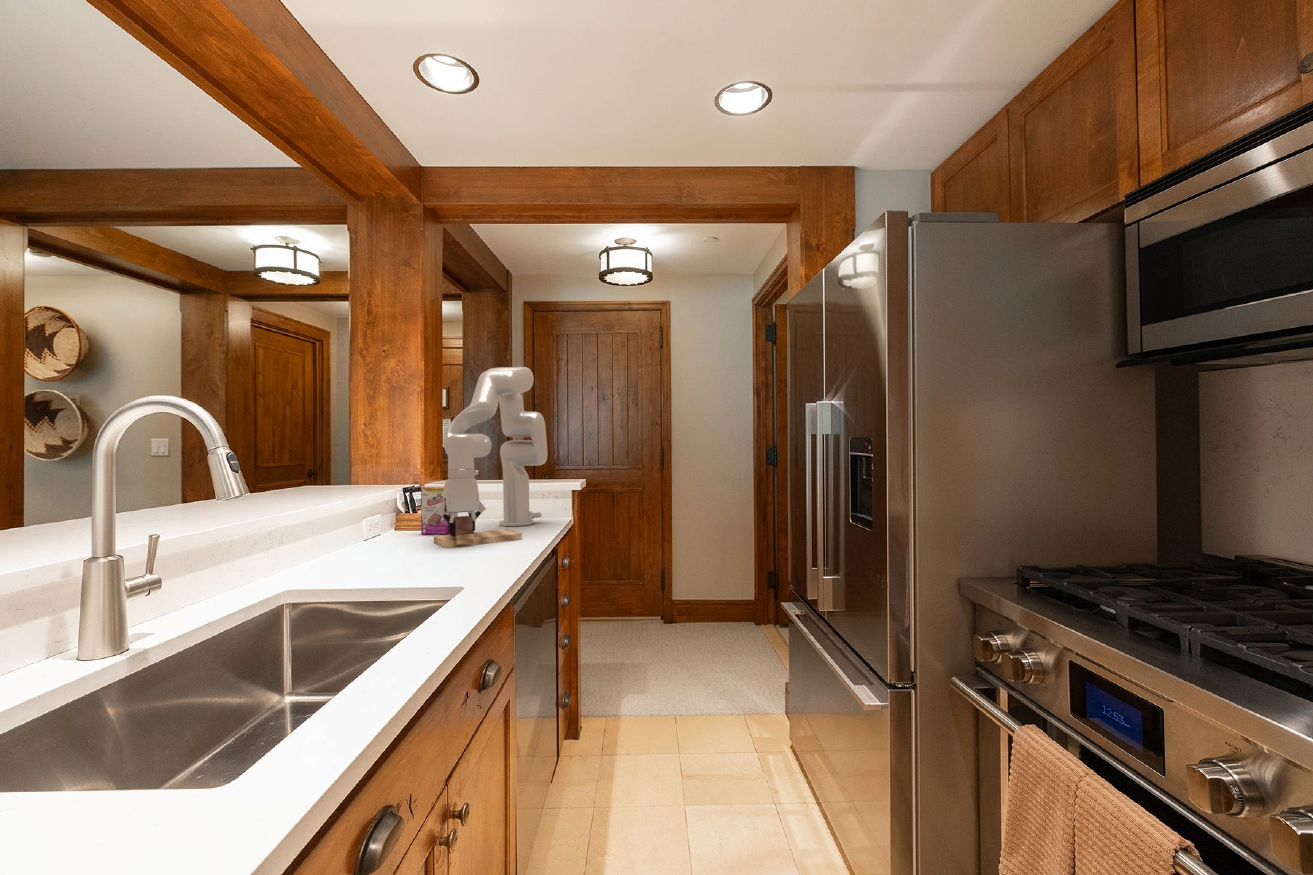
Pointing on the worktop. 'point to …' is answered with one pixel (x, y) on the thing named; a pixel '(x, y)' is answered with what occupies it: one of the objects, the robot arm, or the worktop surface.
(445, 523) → the candy bar box
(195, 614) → the worktop surface
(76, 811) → the worktop surface
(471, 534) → the brown block
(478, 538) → the pine board
